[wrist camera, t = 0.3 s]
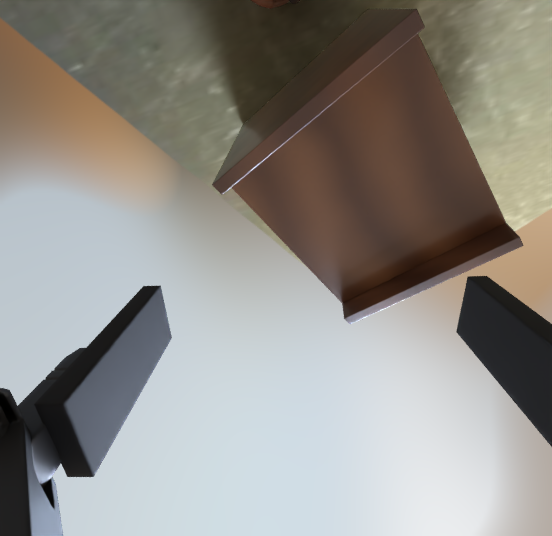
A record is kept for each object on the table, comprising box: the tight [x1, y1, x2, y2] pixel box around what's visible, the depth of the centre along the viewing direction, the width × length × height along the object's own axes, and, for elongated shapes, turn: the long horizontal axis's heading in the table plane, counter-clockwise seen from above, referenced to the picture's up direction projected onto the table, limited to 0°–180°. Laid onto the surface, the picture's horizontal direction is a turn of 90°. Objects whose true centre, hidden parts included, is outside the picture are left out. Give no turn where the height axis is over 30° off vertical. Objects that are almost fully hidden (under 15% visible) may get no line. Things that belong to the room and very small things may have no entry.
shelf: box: [212, 9, 523, 324], centre depth 29 cm, size 15×18×15 cm
